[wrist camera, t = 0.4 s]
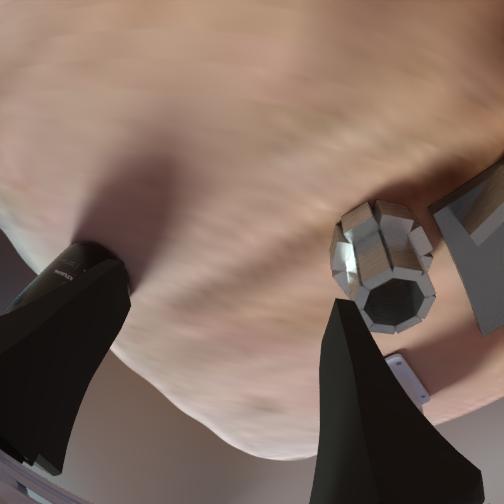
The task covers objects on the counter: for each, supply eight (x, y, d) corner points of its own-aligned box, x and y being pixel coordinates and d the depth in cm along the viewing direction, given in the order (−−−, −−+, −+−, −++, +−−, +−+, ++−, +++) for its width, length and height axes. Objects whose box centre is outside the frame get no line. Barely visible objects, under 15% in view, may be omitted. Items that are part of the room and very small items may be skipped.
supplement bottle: (115, 234, 22) (14, 354, 12) (144, 306, 26) (77, 427, 16) (54, 240, 24) (-37, 336, 14) (84, 303, 27) (16, 402, 17)
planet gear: (435, 255, 19) (462, 311, 14) (360, 297, 22) (368, 358, 17) (395, 183, 17) (424, 228, 12) (312, 234, 20) (311, 291, 15)
